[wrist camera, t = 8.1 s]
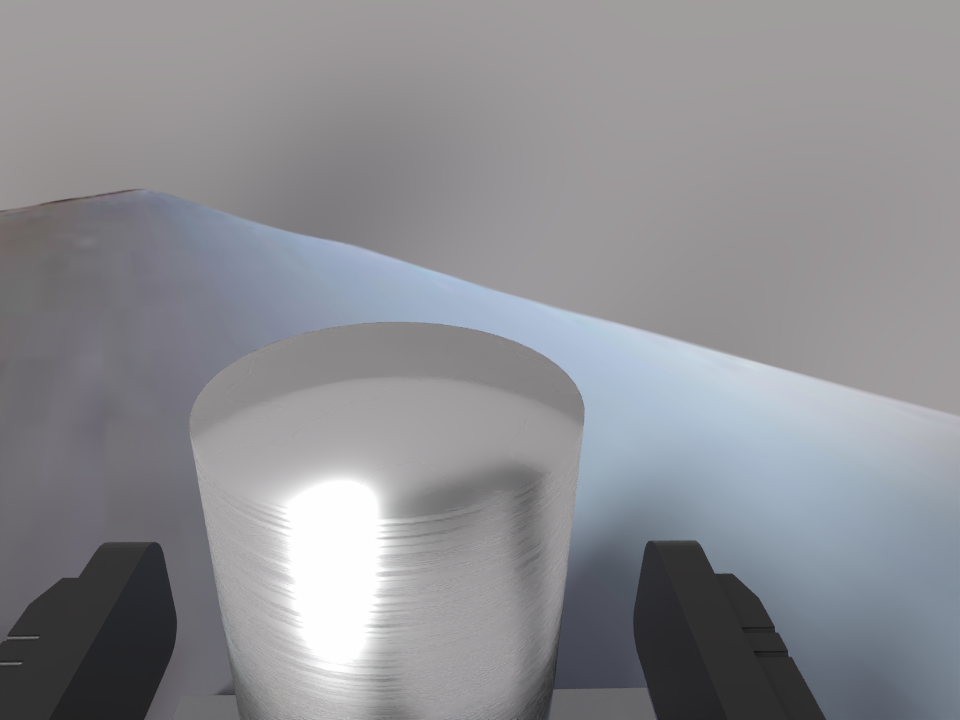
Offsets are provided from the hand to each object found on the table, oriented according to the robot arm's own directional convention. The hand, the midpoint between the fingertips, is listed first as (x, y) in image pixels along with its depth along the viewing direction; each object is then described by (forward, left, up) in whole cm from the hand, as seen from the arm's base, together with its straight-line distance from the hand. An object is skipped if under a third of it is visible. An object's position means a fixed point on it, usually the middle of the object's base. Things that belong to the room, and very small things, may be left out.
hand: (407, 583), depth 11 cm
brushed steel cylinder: (0, +2, -8) cm, 8 cm away
